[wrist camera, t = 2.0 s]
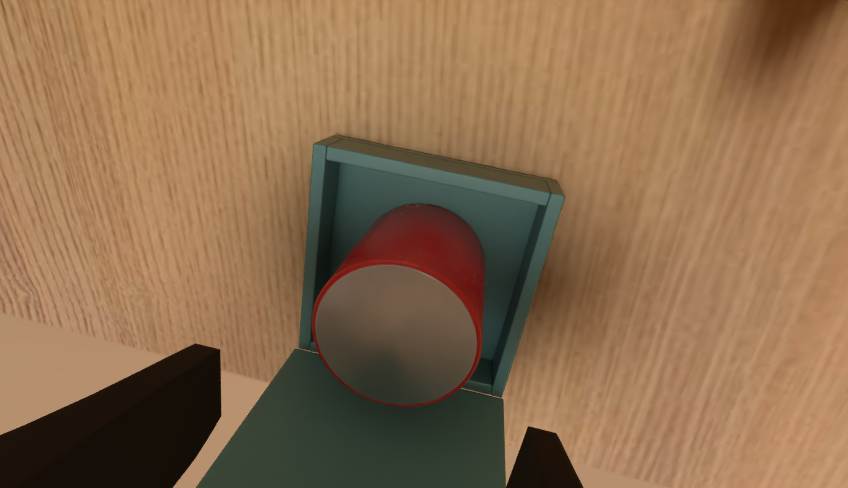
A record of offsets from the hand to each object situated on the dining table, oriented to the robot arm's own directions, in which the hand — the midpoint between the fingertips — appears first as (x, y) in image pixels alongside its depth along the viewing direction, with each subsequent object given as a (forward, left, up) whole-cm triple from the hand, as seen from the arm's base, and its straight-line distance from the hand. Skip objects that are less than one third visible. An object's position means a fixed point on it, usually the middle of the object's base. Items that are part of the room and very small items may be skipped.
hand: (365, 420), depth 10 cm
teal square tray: (0, 0, -9) cm, 9 cm away
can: (0, 0, -9) cm, 9 cm away
